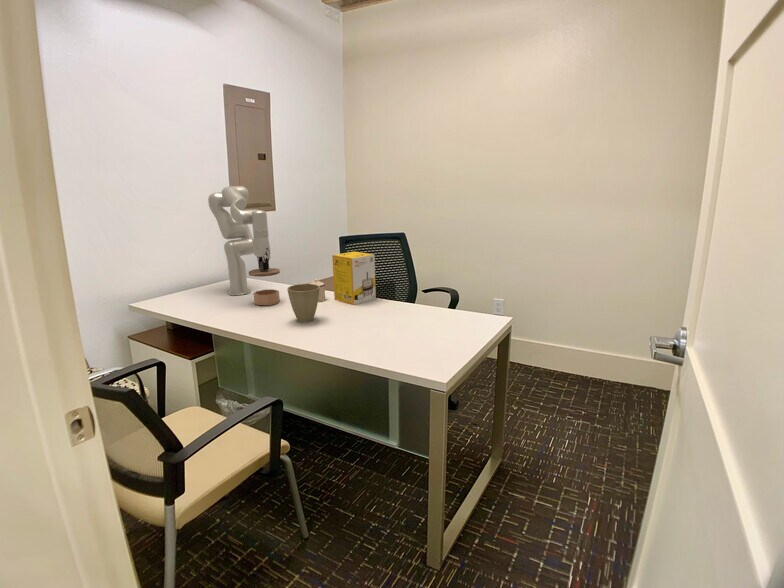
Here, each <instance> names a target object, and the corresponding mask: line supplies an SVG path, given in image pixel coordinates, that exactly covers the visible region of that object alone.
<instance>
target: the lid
mask: <svg viewBox="0 0 784 588" xmlns="http://www.w3.org/2000/svg"><path fill="white" fill-rule="evenodd" d="M280 272H281V271H280V269H279V268H276V267H269V269H267V270H263V261H261V262H260V269H259V268H255V269H251V270H249V271H248V276H250V277H270V276H271V277H272V276H275V275H278V274H280Z"/></svg>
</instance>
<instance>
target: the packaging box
mask: <svg viewBox="0 0 784 588" xmlns="http://www.w3.org/2000/svg"><path fill="white" fill-rule="evenodd" d="M331 258H332V259H331V260H332V274H333V275H332V278H333V294H334V295H333V296H334V301H337V300H338V302H341V303H345V304H348V305H352V306H355V305H359V304H363V303H366V302H370V301H373V300H376V299H377V297H376V295H377V294H376V293H377V292H376V290H377V289H376V288H377V287H376V256H375V253H367V252H361V251H360V252H359V251H350V252H344V253H337V254H332V255H331Z"/></svg>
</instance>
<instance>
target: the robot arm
mask: <svg viewBox="0 0 784 588" xmlns="http://www.w3.org/2000/svg"><path fill="white" fill-rule="evenodd" d="M249 193H250V192H249V190H248V189H247V187H245V186H244V185H243V186H242V185H233V186H232V185H230V186H225V187H224V188H223V189H222V190H221V191H219V192H218V191H217V192H213V193H211V194H209V196H208V200H207V203H208V206H209V210H210V211H211V214H212V215H213V216H214V218H215V219H216V222H217V225H218V228H219V231H220V234H221V235H222V238H223V239H225V240H228V241H226V242H225V243H224V244H223V248H224V250H223V251H224V253H225V256H226V260H227V261H226V262H227V268H228V276H229V277H228V278H229V288H230V290H229V291H228V293H227V294H228V296H229V295H230V296H234V295H237V296H245V295H249V294H250V293H251V292H252V291H251V289H249V288H248V279H247V271H246V270H247V269H246V263H245V261H244V259H243V258H242V256H248V255H252V254H253V255H254V256H256V259H257V262H258V269H260V262H261V261H263V270H267V269H269V268H270V264H269V263H270V259H271V246H270V245H271V244H270V239H269V229H268V228H269V227H268V216H267V212H266V211H265V210H261V209H246V207H247V206H248V205H247V203H248V200H249V197H250V194H249ZM225 208H230V209H229V211H230V212H229V211H228V210H226V209H225ZM249 225H252V232H251V230H250V227H249ZM252 233H253V234H252ZM244 294H245V295H244Z"/></svg>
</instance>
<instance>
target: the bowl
mask: <svg viewBox="0 0 784 588" xmlns="http://www.w3.org/2000/svg"><path fill="white" fill-rule="evenodd" d="M252 295H253V304H254V305H257V306H260V305H269V306H273V305H272V304H274V305H276V304H279V302H280V299H281V298H280V290H277V289H262V290H256V291H255V292H253V294H252Z"/></svg>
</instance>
